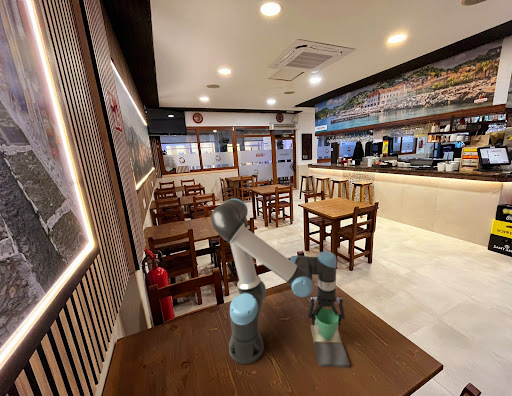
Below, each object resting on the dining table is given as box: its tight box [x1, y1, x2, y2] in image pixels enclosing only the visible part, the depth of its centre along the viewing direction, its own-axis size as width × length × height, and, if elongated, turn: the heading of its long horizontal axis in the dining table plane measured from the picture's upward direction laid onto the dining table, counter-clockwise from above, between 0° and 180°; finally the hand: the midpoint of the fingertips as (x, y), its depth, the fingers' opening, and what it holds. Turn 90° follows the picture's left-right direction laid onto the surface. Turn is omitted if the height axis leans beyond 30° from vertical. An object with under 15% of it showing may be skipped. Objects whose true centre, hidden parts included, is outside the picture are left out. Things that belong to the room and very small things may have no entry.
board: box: [310, 324, 351, 368], centre depth 97 cm, size 12×20×2 cm, turn 175°
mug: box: [316, 307, 339, 340], centre depth 101 cm, size 15×10×10 cm
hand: (325, 330), depth 102 cm, fingers closed on mug, 9 cm apart
